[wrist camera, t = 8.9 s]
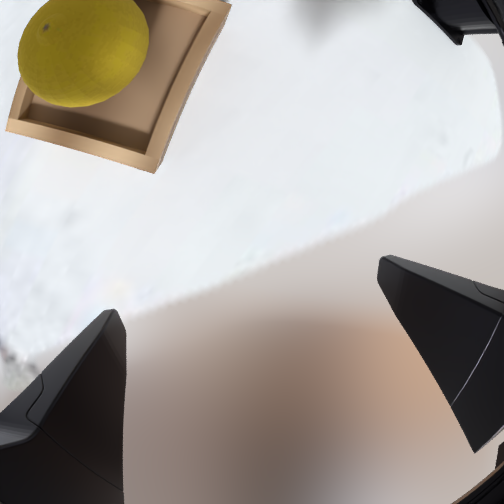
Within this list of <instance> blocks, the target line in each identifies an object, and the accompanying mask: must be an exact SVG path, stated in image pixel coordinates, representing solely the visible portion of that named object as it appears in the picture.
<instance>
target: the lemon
mask: <svg viewBox="0 0 504 504" xmlns="http://www.w3.org/2000/svg"><path fill="white" fill-rule="evenodd" d="M148 46H149V28H148V25H147V22H146V19H145V16H144V14H143V12H142V11H141V10H140V8H139V7H138V6H137V5H136V3H135V2H134V1H133V0H49V1H48V2H47V3H45V4H44V5H43V6H42V7H41V8H40V9H39V10H38V11H37V12H36V13H35V15H34V16H33V17H32V18H31V20H30V21H29V23H28V24H27V26H26V28H25V29H24V32H23V34H22V37H21V40H20V42H19V48H18V66H19V71H20V74H21V76H22V79H23V81H24V83H25V84H26V85H27V86H28V87H29V89H30V90H31V91H32V92H33V93H34V94H35V95H37V96H38V97H40V98H42V99H44V100H45V101H47V102H49V103H51V104H54V105H59V106H64V107H83V106H90V105H93V104H96V103H99V102H103V101H105V100H107V99H109V98H110V97H112V96H114V95H116V94H117V93H119V92H120V91H121V90H122V89H123V88H125V87H126V86H127V85H128V84H129V83H130V82H131V81H132V80H133V78H134V77H135V76H136V75H137V73H138V72H139V71H140V68H141V66H142V64H143V62H144V61H145V58H146V54H147V50H148Z"/></svg>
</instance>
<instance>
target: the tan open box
mask: <svg viewBox="0 0 504 504" xmlns="http://www.w3.org/2000/svg"><path fill="white" fill-rule="evenodd" d="M133 1H134V2H135V3H136V5H137V6H138V7H139V8H140V10H141V11H142V12H143V14H144V16H145V19H146V22H147V25H148V28H149V46H148V50H147V54H146V58H145V61H144V62H143V64H142V66H141V68H140V71H139V72H138V73H137V75H136V76H135V77H134V78H133V80H132V81H131V82H130V83H129V84H128V85H127V86H126V87H125V88H123V89H122V90H121V91H120V92H119V93H117V94H116V95H114V96H112V97H110V98H109V99H107V100H105V101H103V102H99V103H96V104H93V105H90V106H83V107H64V106H59V105H54V104H51V103H49V102H47V101H45V100H44V99H42V98H40V97H38V96H37V95H35V94H34V93H33V92H32V91H31V90H30V89H29V87H28V86H27V85H26V84H25V83H24V81H23V79H22V76H21V77H20V80H19V83H18V86H17V89H16V92H15V96H14V99H13V102H12V106H11V110H10V114H9V117H8V122H7V126H6V130H5V131H7V132H11V133H15V134H19V135H23V136H27V137H31V138H35V139H38V140H42V141H46V142H50V143H53V144H57V145H60V146H64V147H67V148H71V149H75V150H78V151H81V152H85V153H88V154H92V155H95V156H98V157H102V158H105V159H108V160H112V161H115V162H118V163H121V164H124V165H128V166H131V167H134V168H137V169H140V170H143V171H147V172H150V173H153V174H154V173H155V172H156V170H157V169H158V167H159V166H160V164H161V163H162V161H163V159H164V156H165V153H166V151H167V148H168V145H169V143H170V140H171V138H172V135H173V133H174V130H175V128H176V125H177V123H178V120H179V118H180V116H181V113H182V111H183V108H184V106H185V104H186V102H187V99H188V97H189V95H190V93H191V90H192V88H193V86H194V84H195V82H196V80H197V77H198V75H199V73H200V71H201V69H202V67H203V65H204V63H205V61H206V59H207V57H208V55H209V53H210V51H211V49H212V47H213V45H214V43H215V42H216V40H217V38H218V36H219V34H220V32H221V31H222V29H223V27H224V25H225V22H226V19H227V17H228V14H229V11H230V9H231V6H232V5H231V4H229V3H226V2H223V1H220V0H133Z"/></svg>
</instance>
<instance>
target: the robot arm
mask: <svg viewBox="0 0 504 504" xmlns="http://www.w3.org/2000/svg"><path fill="white" fill-rule="evenodd" d="M418 1H419V2H418ZM413 2H414V4H415V5H416V6H417V7H418V8H419V9H421V10H422V11H423V12H424V13H425V14H426V15H427V16H428V17H429V18H430V19H431V20H432V21H433V22H434V23H435V24H436V25H437V26H438V27H439V28H440V29H441V30H442V31H443V32H444V33H445V34H446V35H447V36H448V37H449V38H450V39H451V40H452V41H453V42H454V43H455V44H456V45H462V42H463V38H464V35H470V34H495V33H496V34H497V33H498V34H499V35H500V37H501V39H502V43H503V45H504V0H413ZM377 281H378V284H379V286H380V287H381V289H382V291H383V293H384V295H385V297H386V299H387V300H388V302H389V304H390V306H391V308H392V310H393V312H394V313H395V315H396V317H397V319H398V320H399V321H400V323H401V325H402V326H403V328H404V329H405V331H406V332H407V334H408V336H409V337H410V339H411V340H412V342H413V343H414V345H415V347H416V348H417V350H418V351H419V353H420V355H421V356H422V358H423V360H424V361H425V363H426V365H427V366H428V368H429V370H430V371H431V373H432V375H433V376H434V378H435V380H436V382H437V383H438V385H439V387H440V389H441V390H442V392H443V394H444V396H445V397H446V399H447V401H448V403H449V405H450V406H451V409H452V410H453V412H454V414H455V416H456V418H457V420H458V422H459V424H460V426H461V428H462V430H463V432H464V434H465V436H466V438H467V440H468V442H469V444H470V446H471V448H472V450H473V452H474V453H476V452H477V451H479V450H480V449H481V448H483V447H484V446H485V445H486V444H487V443H488V442H490V441H491V440H492V439H493V438H494V437H496V436H497V435H498V434H499V433H500V432H501V431H502V430H503V429H504V290H501V289H498V288H494V287H491V286H488V285H485V284H482V283H479V282H475V281H472V280H470V279H467V278H463V277H461V276H458V275H454V274H451V273H448V272H445V271H442V270H439V269H436V268H432V267H429V266H426V265H422V264H419V263H416V262H413V261H410V260H406V259H403V258H400V257H397V256H393V255H387V256H383V257H381V258H380V260H379V266H378V274H377ZM125 386H126V330H125V327H124V325H123V323H122V321H121V318H120V316H119V314H118V312H117V311H116V310H115V309H110V310H104V311H103V312H102V313H101V314H100V315H99V316H98V317H97V318H95V319H94V320H93V321H92V322H91V323H90V324H89V325H88V326H87V327H86V328H85V329H84V330H83V331H82V332H81V333H80V334H79V335H78V336H77V337H76V338H75V339H74V340H73V341H72V342H71V343H70V344H69V345H68V346H67V347H66V348H65V349H64V350H63V351H62V352H61V353H60V354H59V355H58V356H57V357H56V358H55V359H54V360H53V361H52V362H51V363H50V364H49V365H48V366H47V367H46V368H45V369H44V370H43V371H42V374H39V375H38V376H37V377H36V379H35V380H34V381H33V382H32V383H31V384H30V385H29V386H28V387H27V388H26V389H25V390H24V391H23V392H22V393H21V394H20V395H19V396H18V397H17V398H16V399H15V400H14V401H12V402H11V403H10V405H8V406H7V407H6V408H5V409H4V410H3V411H2V412H1V413H0V504H124V493H123V459H122V458H123V418H124V401H125ZM452 504H504V442H503V443H502V444H500V445H499V448H498V455H497V460H496V466H495V470H494V471H493V472H491V473H490V474H489V475H488V476H487V477H486V478H484V479H483V480H482V481H481V482H480V483H478V484H477V485H476V486H475V487H473V488H472V489H471V490H470V491H468V492H467V493H466V494H464V495H463V496H462V497H460V498H459V499H457V500H456V501H455V502H453V503H452Z"/></svg>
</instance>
